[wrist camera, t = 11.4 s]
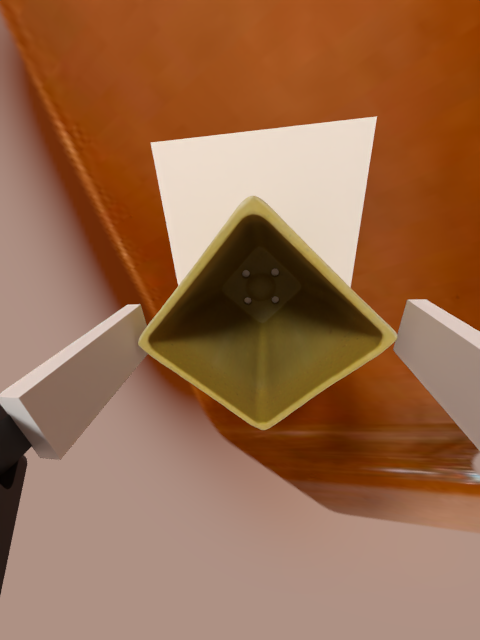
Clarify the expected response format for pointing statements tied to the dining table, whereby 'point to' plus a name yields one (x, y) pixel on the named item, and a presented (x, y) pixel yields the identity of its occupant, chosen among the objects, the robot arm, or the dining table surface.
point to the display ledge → (268, 186)
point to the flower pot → (263, 321)
